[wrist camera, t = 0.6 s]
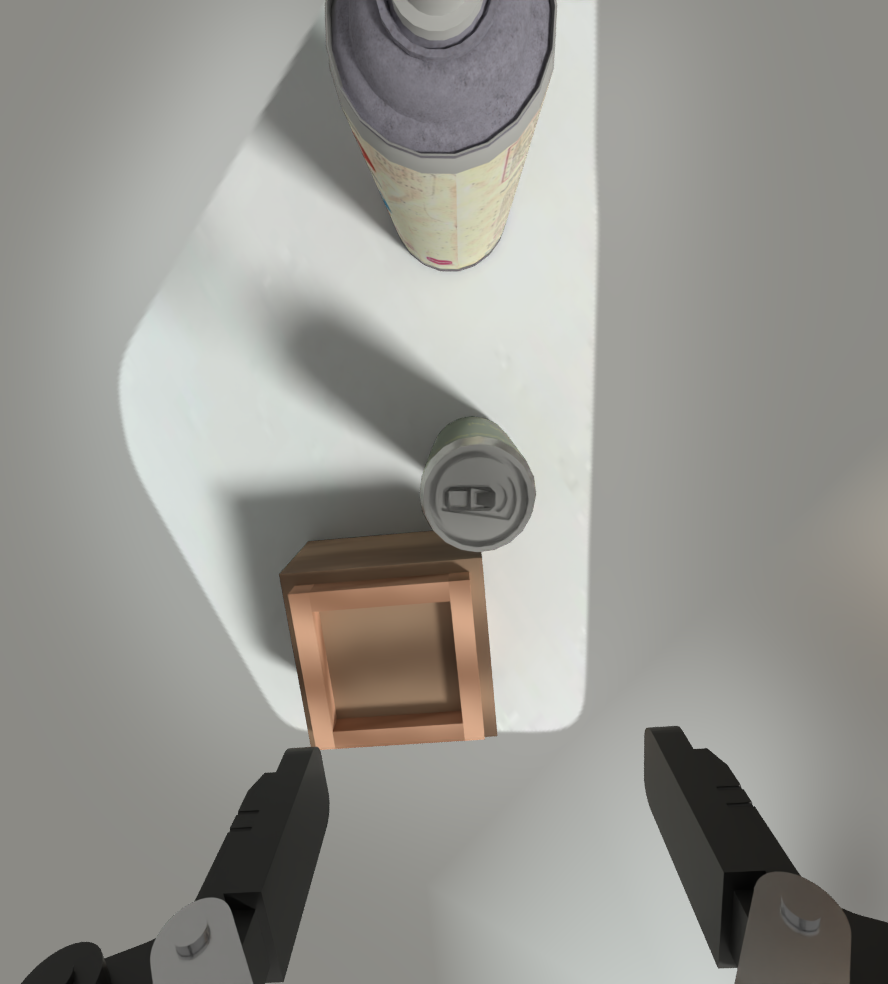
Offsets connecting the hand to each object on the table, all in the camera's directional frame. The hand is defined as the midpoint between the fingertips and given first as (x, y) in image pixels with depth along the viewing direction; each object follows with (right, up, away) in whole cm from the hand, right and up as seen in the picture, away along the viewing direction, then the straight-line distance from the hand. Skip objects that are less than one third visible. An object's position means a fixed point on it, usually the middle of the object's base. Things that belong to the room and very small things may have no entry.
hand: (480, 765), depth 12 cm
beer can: (+1, +9, +22) cm, 24 cm away
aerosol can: (0, +24, +18) cm, 30 cm away
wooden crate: (-4, -2, +24) cm, 25 cm away
